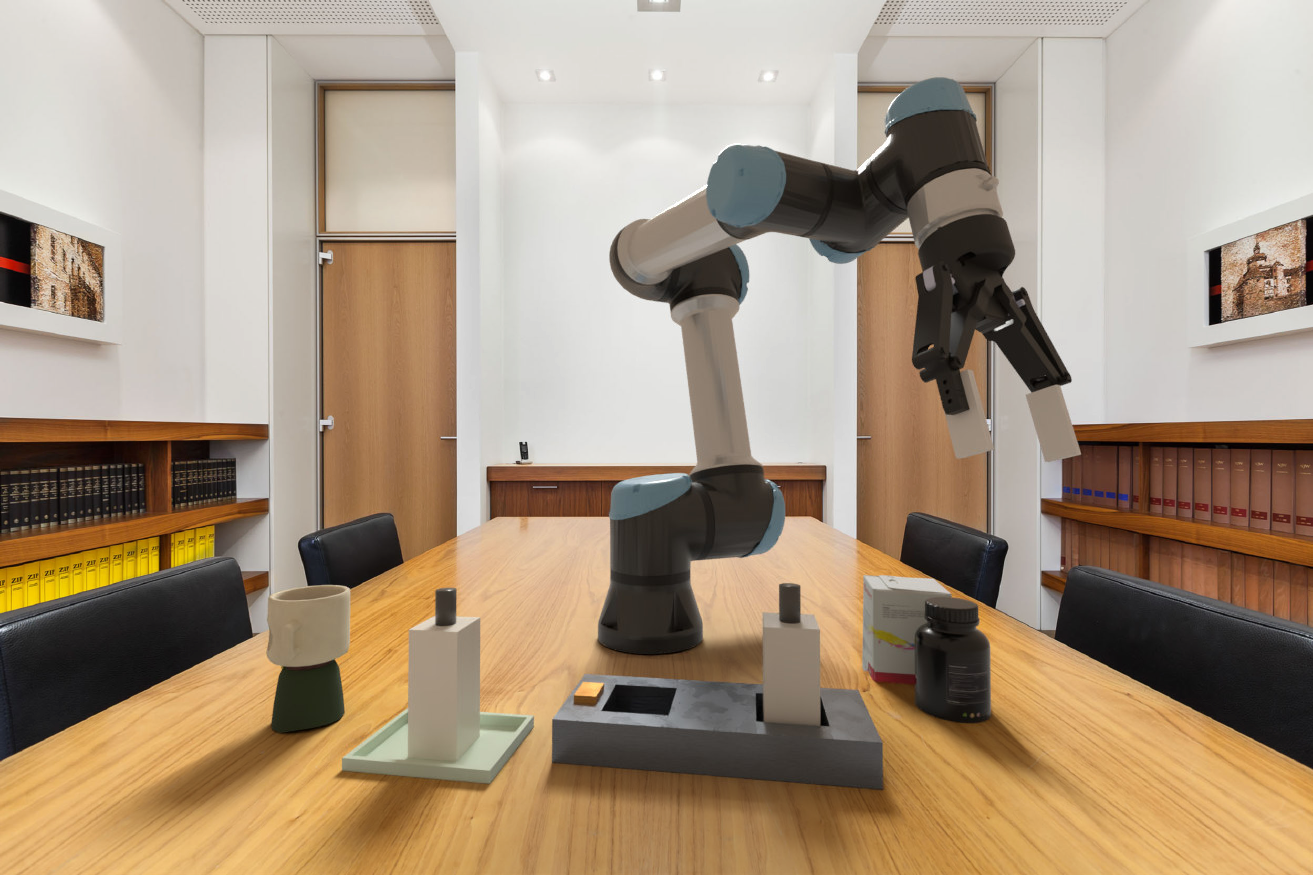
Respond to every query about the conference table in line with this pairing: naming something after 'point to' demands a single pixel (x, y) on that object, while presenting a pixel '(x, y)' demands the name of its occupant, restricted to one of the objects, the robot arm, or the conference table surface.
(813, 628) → the twin plug
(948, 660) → the supplement bottle
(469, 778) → the tray
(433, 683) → the plug
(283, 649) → the character mug
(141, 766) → the conference table surface
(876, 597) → the ink box
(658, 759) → the power strip
